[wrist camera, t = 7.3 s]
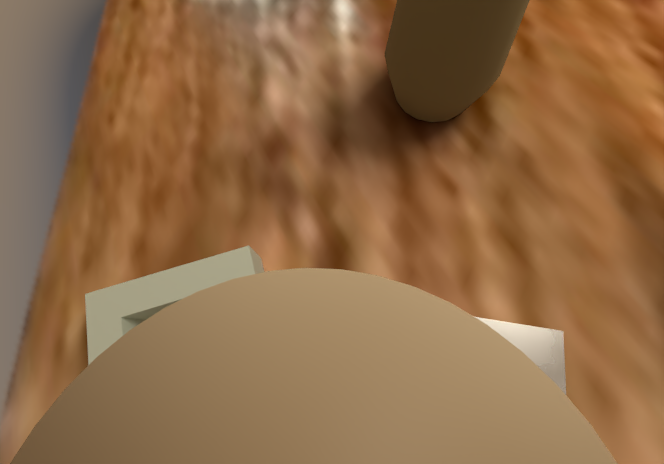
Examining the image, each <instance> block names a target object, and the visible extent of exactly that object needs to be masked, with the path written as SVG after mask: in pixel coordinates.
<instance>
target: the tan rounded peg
mask: <svg viewBox="0 0 664 464" xmlns="http://www.w3.org/2000/svg"><path fill="white" fill-rule="evenodd" d="M10 464H617V462H616V461H615V459H614V458H613V456H612V455H611V453H610V452H609V450H608V449H607V448H606V446H605V445H604V443H603V442H602V440H601V439H600V437H599V436H598V434H597V433H596V432H595V430H594V429H593V427H592V426H591V424H590V423H589V422H588V421H587V420H586V418H585V417H584V416H583V415H582V414H581V413H580V411H579V410H578V409H577V408H576V407H575V405H574V404H573V403H572V402H571V401H570V400H569V398H568V397H567V396H566V395H565V394H564V392H563V391H562V390H561V389H560V388H559V387H558V385H557V384H556V383H555V382H554V381H553V380H551V379H550V378H549V377H548V376H547V375H546V374H545V373H544V372H543V371H542V370H541V369H540V368H539V367H538V366H537V365H536V364H535V363H534V362H533V361H532V360H531V359H529V358H528V357H527V356H526V355H525V354H524V353H523V352H522V351H521V350H520V349H518V348H517V347H516V346H514V345H513V344H512V343H510V342H509V341H508V340H506V339H505V338H504V337H502V336H501V335H500V334H499V333H497V332H496V331H495V330H493V329H492V328H491V327H489V326H488V325H487V324H485V323H483V322H482V321H480V320H478V319H477V318H475V317H473V316H472V315H470V314H468V313H467V312H465V311H463V310H462V309H460V308H458V307H457V306H455V305H453V304H452V303H450V302H448V301H445V300H443V299H441V298H439V297H436V296H434V295H432V294H430V293H427V292H425V291H423V290H421V289H418V288H416V287H414V286H410V285H407V284H404V283H400V282H397V281H394V280H391V279H387V278H384V277H381V276H377V275H371V274H366V273H360V272H354V271H348V270H342V269H320V268H298V269H287V270H275V271H267V272H262V273H258V274H253V275H249V276H244V277H239V278H235V279H231V280H229V281H226V282H223V283H220V284H217V285H214V286H212V287H209V288H206V289H203V290H200V291H198V292H196V293H194V294H192V295H190V296H187V297H185V298H183V299H181V300H179V301H177V302H175V303H173V304H171V305H169V306H167V307H165V308H163V309H162V310H160V311H159V312H157V313H156V314H154V315H152V316H151V317H149V318H148V319H146V320H145V321H143V322H142V323H140V324H139V325H137V326H135V327H134V328H132V329H131V330H129V331H128V332H127V333H126V334H125V335H123V336H122V337H121V338H120V339H118V340H117V341H116V342H115V343H113V344H112V345H111V346H110V347H109V348H107V349H106V350H105V351H104V352H102V353H101V354H100V355H99V356H98V357H96V358H95V359H94V360H93V361H92V362H91V363H90V364H89V365H88V366H87V368H86V369H85V370H84V371H83V372H82V373H81V374H80V375H79V376H78V377H77V378H76V379H75V380H74V381H73V382H72V383H71V384H70V385H69V386H68V387H67V388H66V389H65V390H64V391H63V392H62V394H61V395H60V396H59V397H58V398H57V400H56V401H55V402H54V403H53V405H52V406H51V407H50V408H49V410H48V411H47V412H46V413H45V414H44V416H43V417H42V418H41V419H40V421H39V422H38V423H37V424H36V426H35V427H34V428H33V430H32V431H31V433H30V434H29V436H28V437H27V439H26V440H25V442H24V443H23V445H22V446H21V448H20V449H19V451H18V453H17V454H16V456H15V457H14V459H13V460H12V462H11V463H10Z"/></svg>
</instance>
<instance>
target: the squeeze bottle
mask: <svg viewBox="0 0 664 464" xmlns="http://www.w3.org/2000/svg"><path fill="white" fill-rule="evenodd" d="M528 2H529V0H397V4H396V8H395V12H394V16H393V21H392V25H391V29H390V33H389V38H388V42H387V46H386V50H385V59H386V64H387V69H388V73H389V77H390V80H391V83H392V87H393V90H394V94H395V97H396V100H397V102H398V104H399V105H400V106H401V108H402V109H403V110H404V112H406V113H407V114H409V115H411V116H412V117H414V118H416V119H418V120H423V121H428V122H440V121H447V120H449V119H451V118H453V117H455V116H457V115H459V114H461V113H462V112H463V111H464V110H465V109H466V108H468V107H469V106H470V105H471V104H472V103H473V102H475V101H476V100H477V99H478V98H479V97H481V96H482V95H483V94H484V93H485V92H486V91H488V89H489V88H490V87H491V86H492V84H493V83H494V82H495V81H496V80H497V78H498V77H499V76H500V74H501V71H502V69H503V66H504V63H505V61H506V58H507V56H508V53H509V51H510V48H511V46H512V43H513V41H514V38H515V35H516V33H517V30H518V28H519V25H520V23H521V20H522V18H523V15H524V13H525V10H526V8H527V5H528Z"/></svg>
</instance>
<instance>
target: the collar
mask: <svg viewBox="0 0 664 464" xmlns="http://www.w3.org/2000/svg"><path fill="white" fill-rule="evenodd" d="M262 272H264V268H263V264H262V259H261V258H260V257H259V255H258V254H257V253H256V252H255V251H254V250H253V249H252V248H251V247H250V246H246V247H242V248H239V249H236V250H232V251H229V252H226V253H222V254H219V255H215V256H212V257H209V258H205V259H202V260H198V261H195V262H192V263H188V264H185V265H182V266H178V267H175V268H171V269H168V270H165V271H161V272H158V273H155V274H151V275H148V276H144V277H141V278H138V279H134V280H131V281H127V282H124V283H121V284H117V285H114V286H111V287H107V288H104V289H100V290H97V291H94V292H90V293H87V294H85V301H86V322H87V344H88V365H89V364H90V363H91V362H92V361H93V360H94V359H95V358H96V357H98V356H99V355H100V354H101V353H102V352H104V351H105V350H106V349H107V348H109V347H110V346H111V345H112V344H113V343H115V342H116V341H117V340H118V339H120V338H121V337H122V336H123V335H125V334H126V333H127V332H128V331H129V330H131V329H132V328H134V327H135V326H137V325H139V324H140V323H142V322H143V321H145V320H146V319H148V318H149V317H151V316H152V315H154V314H156V313H157V312H159V311H160V310H162V309H163V308H165V307H167V306H169V305H171V304H173V303H175V302H177V301H179V300H181V299H183V298H185V297H187V296H190V295H192V294H194V293H196V292H198V291H200V290H203V289H206V288H209V287H212V286H214V285H217V284H220V283H223V282H226V281H229V280H231V279H235V278H239V277H244V276H249V275H253V274H258V273H262Z"/></svg>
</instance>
